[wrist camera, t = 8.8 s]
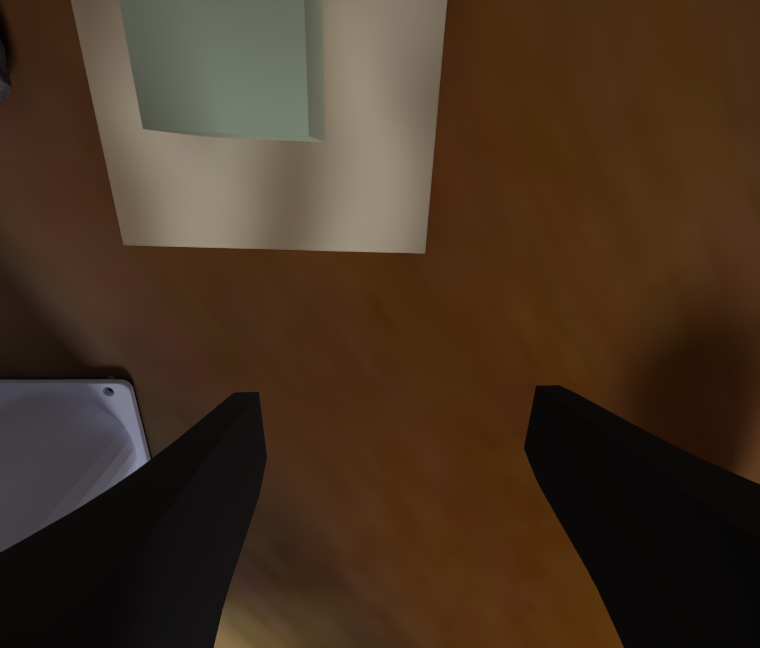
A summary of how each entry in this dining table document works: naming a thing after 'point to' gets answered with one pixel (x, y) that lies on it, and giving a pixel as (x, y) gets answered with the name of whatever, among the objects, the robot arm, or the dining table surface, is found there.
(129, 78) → the slab
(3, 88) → the geode
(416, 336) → the dining table surface
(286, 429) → the dining table surface
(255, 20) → the block
